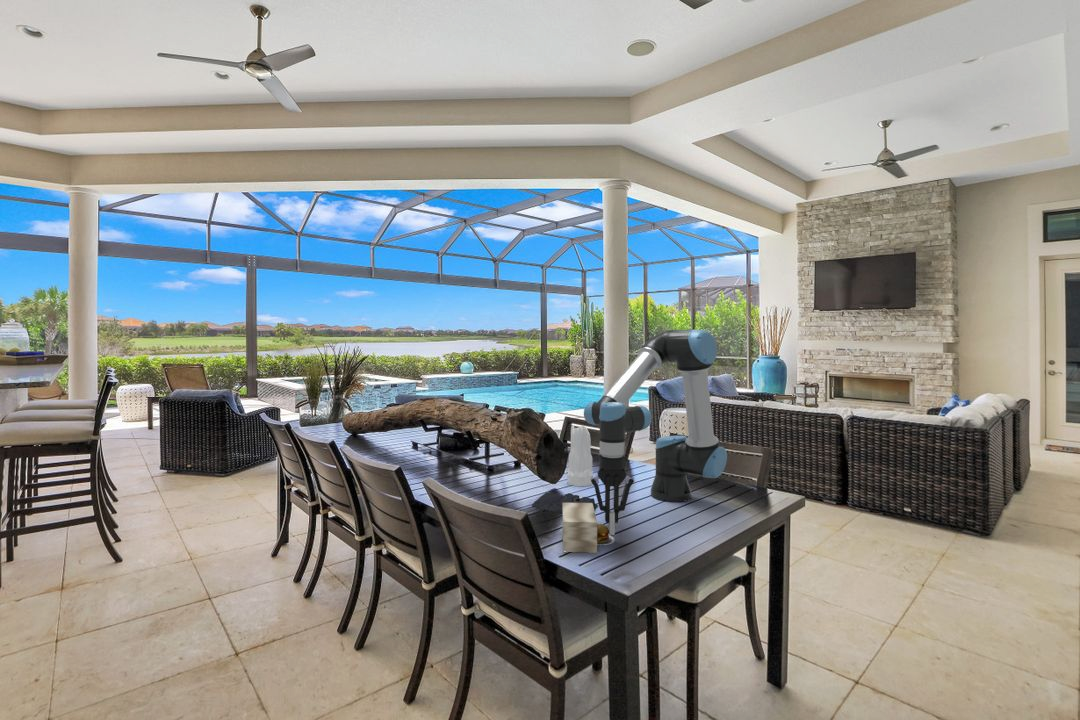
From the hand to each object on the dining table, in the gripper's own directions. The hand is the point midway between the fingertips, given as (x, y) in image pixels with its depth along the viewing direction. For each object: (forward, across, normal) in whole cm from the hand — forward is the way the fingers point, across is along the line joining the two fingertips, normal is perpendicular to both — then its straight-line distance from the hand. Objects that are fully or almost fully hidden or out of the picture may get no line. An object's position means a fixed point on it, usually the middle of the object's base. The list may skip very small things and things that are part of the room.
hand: (611, 533), depth 151 cm
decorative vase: (+3, +6, -62) cm, 62 cm away
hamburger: (+3, +4, -1) cm, 5 cm away
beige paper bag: (+2, +10, 0) cm, 10 cm away
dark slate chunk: (+3, +13, -31) cm, 34 cm away
